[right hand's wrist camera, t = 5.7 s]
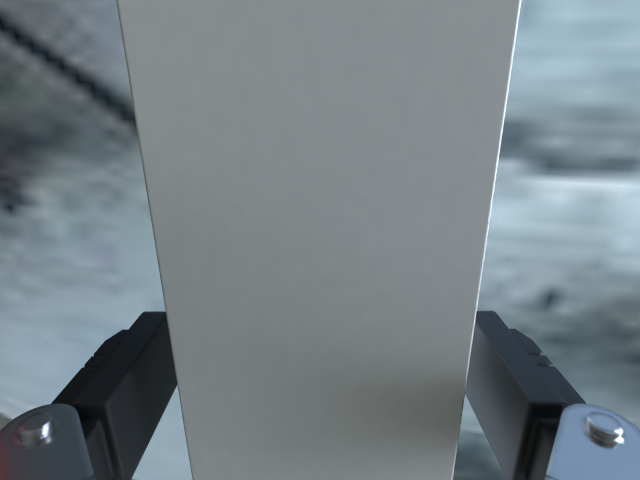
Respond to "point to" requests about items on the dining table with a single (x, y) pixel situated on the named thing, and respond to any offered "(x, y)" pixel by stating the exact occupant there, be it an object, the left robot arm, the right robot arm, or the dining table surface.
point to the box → (320, 222)
